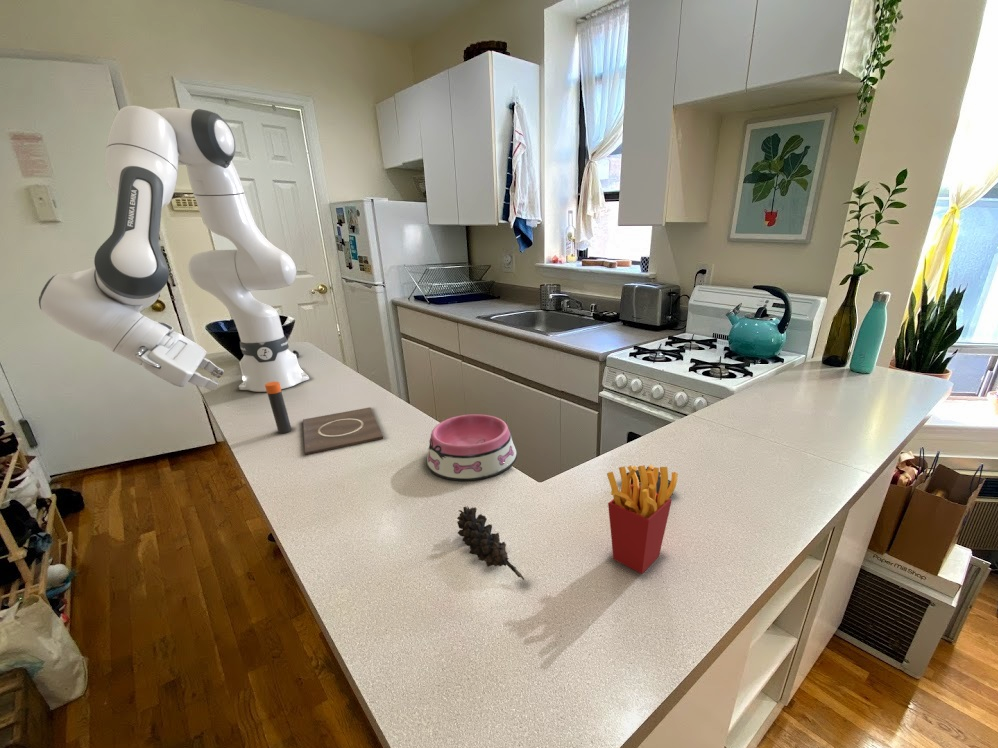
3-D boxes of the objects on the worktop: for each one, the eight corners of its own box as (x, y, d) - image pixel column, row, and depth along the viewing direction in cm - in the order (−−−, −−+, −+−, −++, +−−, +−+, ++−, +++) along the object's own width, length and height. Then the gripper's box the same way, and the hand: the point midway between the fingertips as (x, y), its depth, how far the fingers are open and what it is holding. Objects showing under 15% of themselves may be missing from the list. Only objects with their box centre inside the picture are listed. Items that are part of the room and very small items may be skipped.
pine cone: (447, 533, 74) (444, 505, 72) (476, 521, 76) (473, 494, 74) (499, 601, 61) (496, 569, 58) (532, 584, 63) (530, 554, 61)
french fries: (644, 581, 63) (651, 487, 57) (595, 555, 68) (597, 467, 62) (674, 548, 70) (684, 461, 64) (627, 526, 75) (632, 443, 69)
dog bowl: (534, 461, 95) (533, 431, 92) (451, 492, 85) (447, 459, 82) (489, 431, 108) (487, 404, 106) (413, 454, 98) (408, 425, 95)
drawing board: (303, 421, 115) (302, 418, 115) (370, 409, 122) (370, 406, 122) (305, 455, 99) (304, 451, 99) (383, 438, 106) (382, 435, 105)
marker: (278, 430, 111) (265, 382, 106) (291, 427, 112) (279, 380, 107) (278, 434, 108) (264, 386, 104) (291, 432, 110) (279, 384, 105)
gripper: (142, 341, 84) (222, 383, 92) (167, 321, 101) (233, 358, 109) (120, 368, 84) (202, 408, 92) (149, 344, 101) (216, 379, 109)
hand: (219, 380), depth 101 cm, fingers open, 8 cm apart
